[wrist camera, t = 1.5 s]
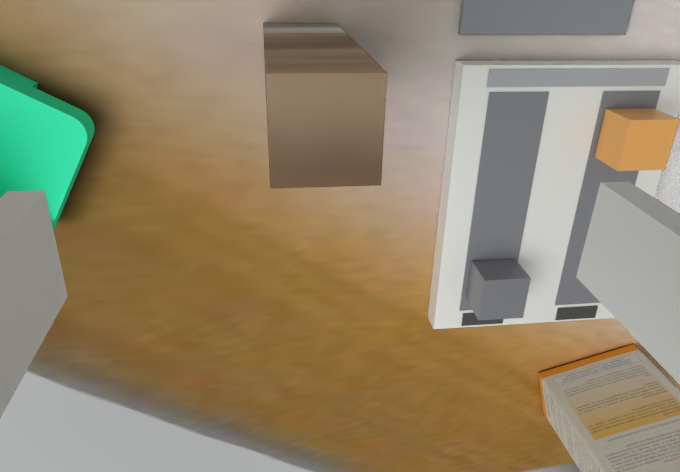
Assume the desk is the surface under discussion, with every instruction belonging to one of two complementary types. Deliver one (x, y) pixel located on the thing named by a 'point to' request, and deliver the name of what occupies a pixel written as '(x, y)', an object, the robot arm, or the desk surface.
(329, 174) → the wooden beam block
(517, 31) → the mat
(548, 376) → the supplement box
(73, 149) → the camera mount
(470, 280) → the tab
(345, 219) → the desk surface
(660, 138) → the tab
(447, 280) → the switch board
